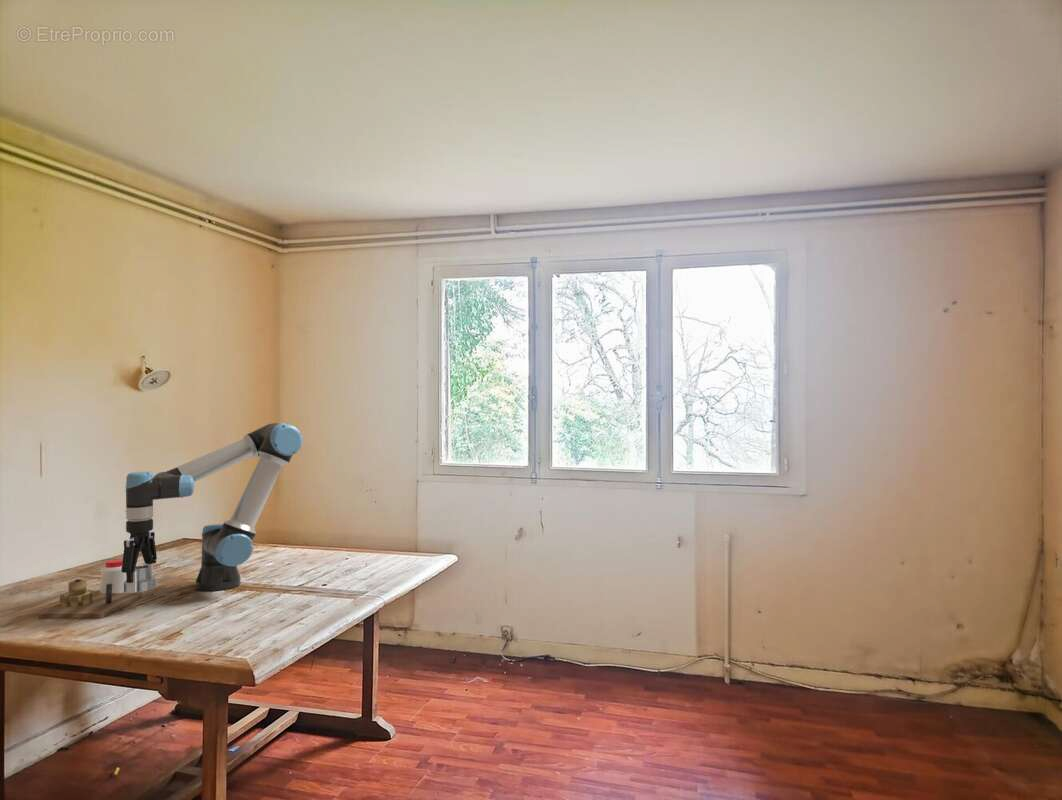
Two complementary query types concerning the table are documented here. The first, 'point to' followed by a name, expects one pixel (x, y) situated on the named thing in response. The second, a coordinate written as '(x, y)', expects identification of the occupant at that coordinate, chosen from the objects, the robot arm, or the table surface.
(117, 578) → the pill bottle
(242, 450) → the robot arm
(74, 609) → the gear board
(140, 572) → the steel gear
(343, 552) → the table surface
